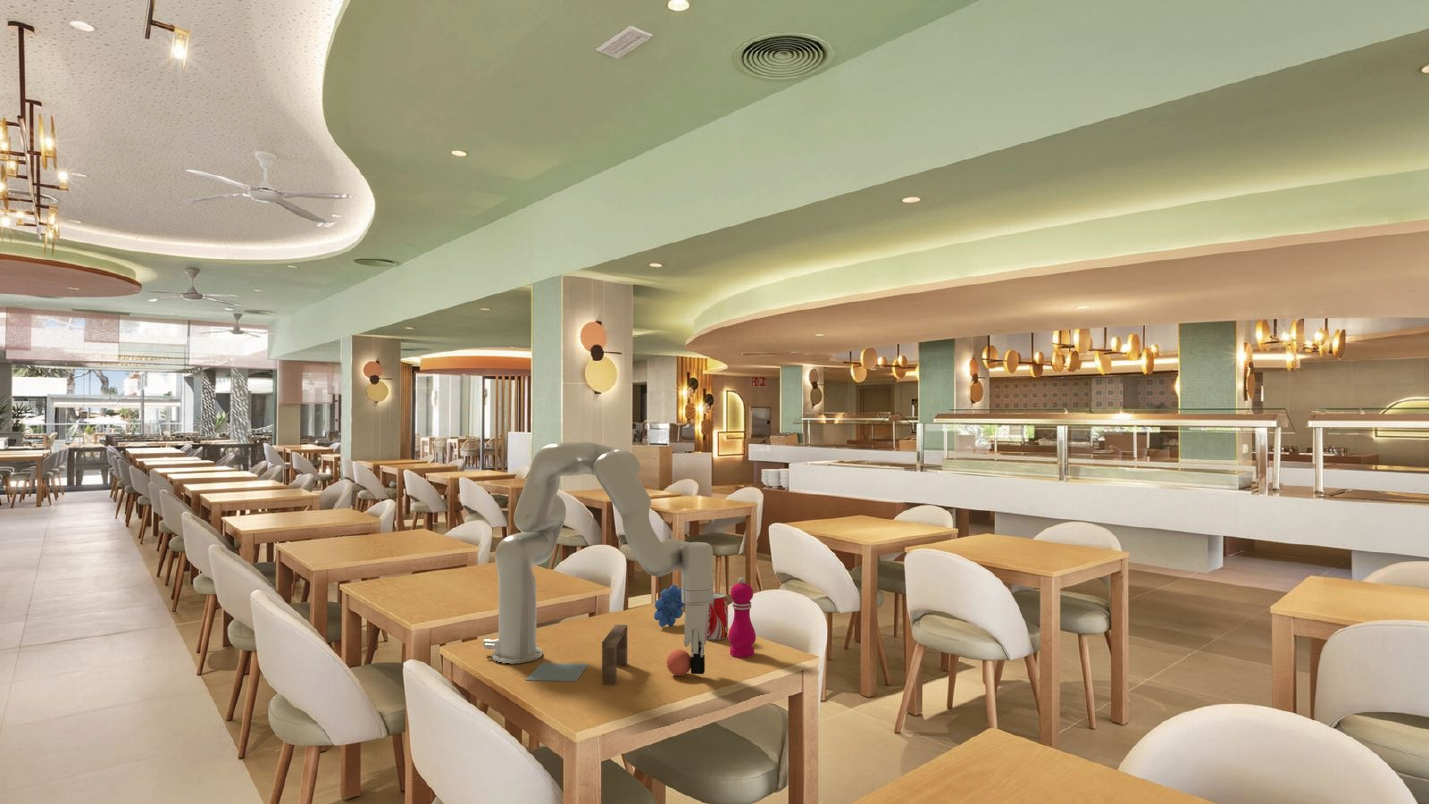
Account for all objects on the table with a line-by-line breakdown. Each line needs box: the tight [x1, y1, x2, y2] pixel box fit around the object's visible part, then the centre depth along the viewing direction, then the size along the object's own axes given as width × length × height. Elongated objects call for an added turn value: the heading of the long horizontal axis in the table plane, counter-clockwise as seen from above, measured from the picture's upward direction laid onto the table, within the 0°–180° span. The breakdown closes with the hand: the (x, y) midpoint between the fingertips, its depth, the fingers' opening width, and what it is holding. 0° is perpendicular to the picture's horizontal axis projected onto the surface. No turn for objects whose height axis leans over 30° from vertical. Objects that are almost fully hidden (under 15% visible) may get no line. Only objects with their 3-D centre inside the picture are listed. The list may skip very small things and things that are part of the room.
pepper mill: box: [727, 577, 757, 659], centre depth 193 cm, size 7×7×20 cm
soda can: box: [707, 592, 729, 642], centre depth 207 cm, size 7×7×12 cm
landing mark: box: [525, 662, 589, 683], centre depth 179 cm, size 12×12×1 cm
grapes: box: [653, 584, 686, 628], centre depth 221 cm, size 12×7×12 cm, turn 131°
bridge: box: [601, 624, 628, 686], centre depth 178 cm, size 3×15×10 cm, turn 176°
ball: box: [666, 648, 691, 677], centre depth 177 cm, size 6×6×6 cm
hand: (697, 672), depth 175 cm, fingers closed
